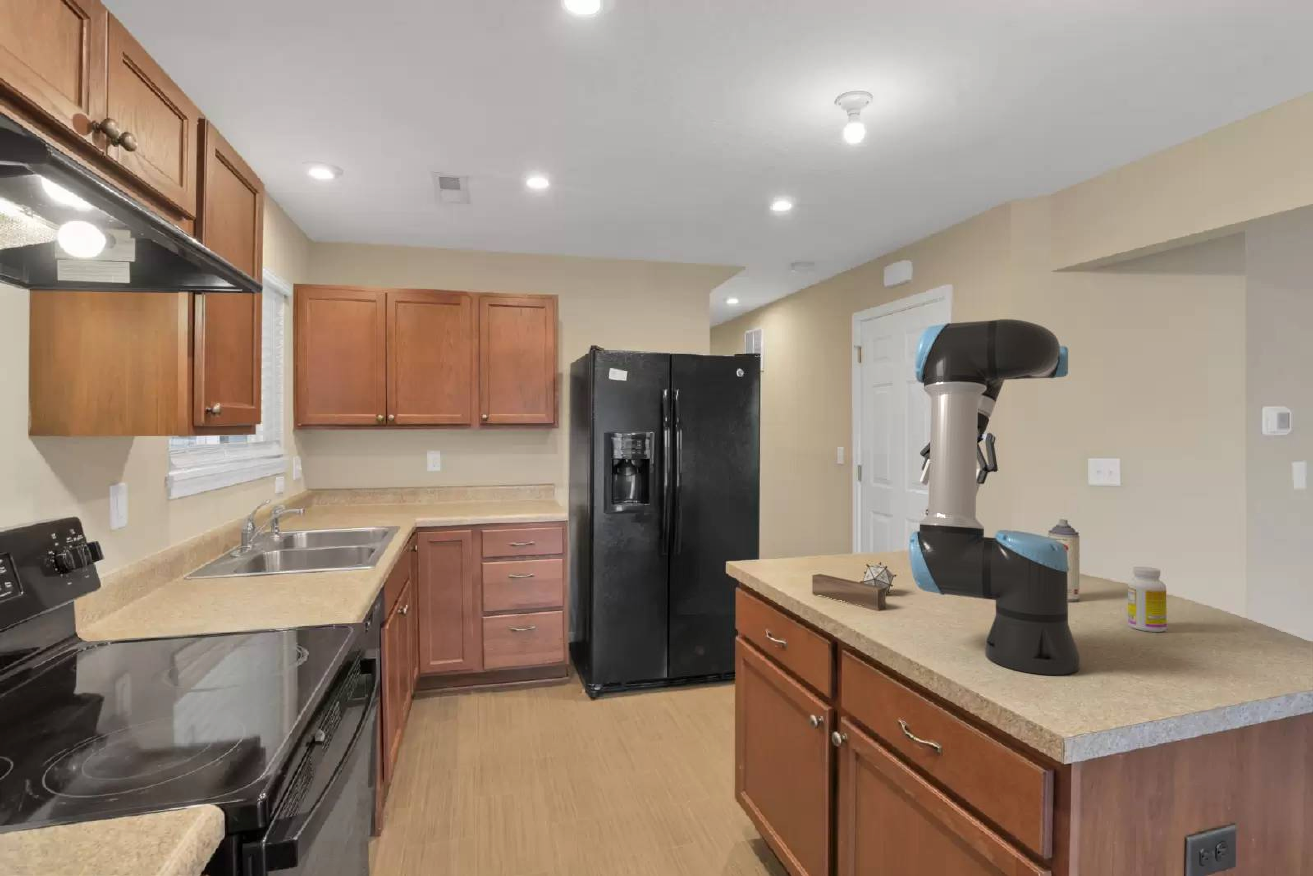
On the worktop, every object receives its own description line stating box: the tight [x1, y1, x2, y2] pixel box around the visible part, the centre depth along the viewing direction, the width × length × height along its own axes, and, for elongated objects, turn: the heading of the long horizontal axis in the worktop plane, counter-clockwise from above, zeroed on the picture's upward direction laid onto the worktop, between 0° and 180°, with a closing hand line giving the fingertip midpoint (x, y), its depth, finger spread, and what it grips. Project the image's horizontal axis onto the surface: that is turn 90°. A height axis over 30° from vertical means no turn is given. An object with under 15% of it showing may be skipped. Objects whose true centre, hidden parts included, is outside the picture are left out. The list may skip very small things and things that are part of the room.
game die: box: [859, 561, 897, 594], centre depth 174 cm, size 9×8×10 cm
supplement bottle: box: [1127, 566, 1168, 633], centre depth 143 cm, size 7×7×13 cm
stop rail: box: [811, 573, 887, 611], centre depth 167 cm, size 3×20×5 cm, turn 36°
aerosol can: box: [1047, 518, 1080, 603], centre depth 168 cm, size 7×7×20 cm
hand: (946, 489), depth 173 cm, fingers open, 13 cm apart
